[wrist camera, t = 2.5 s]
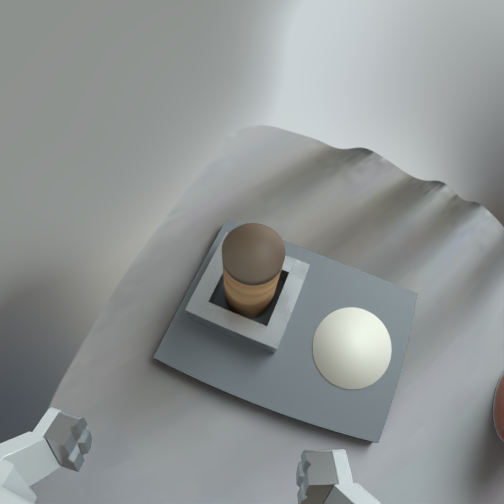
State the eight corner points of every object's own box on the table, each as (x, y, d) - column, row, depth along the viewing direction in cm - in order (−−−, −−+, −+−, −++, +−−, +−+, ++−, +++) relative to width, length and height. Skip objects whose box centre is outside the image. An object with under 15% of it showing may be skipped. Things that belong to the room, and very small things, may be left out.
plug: (261, 326, 29) (272, 289, 21) (217, 307, 29) (210, 264, 22) (278, 285, 31) (294, 236, 23) (236, 268, 31) (237, 215, 24)
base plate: (373, 442, 25) (378, 442, 24) (156, 359, 28) (153, 357, 27) (412, 297, 32) (417, 293, 31) (226, 225, 35) (226, 218, 34)
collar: (274, 354, 28) (277, 349, 26) (188, 318, 29) (184, 309, 27) (304, 275, 31) (310, 264, 29) (226, 244, 33) (226, 232, 31)
